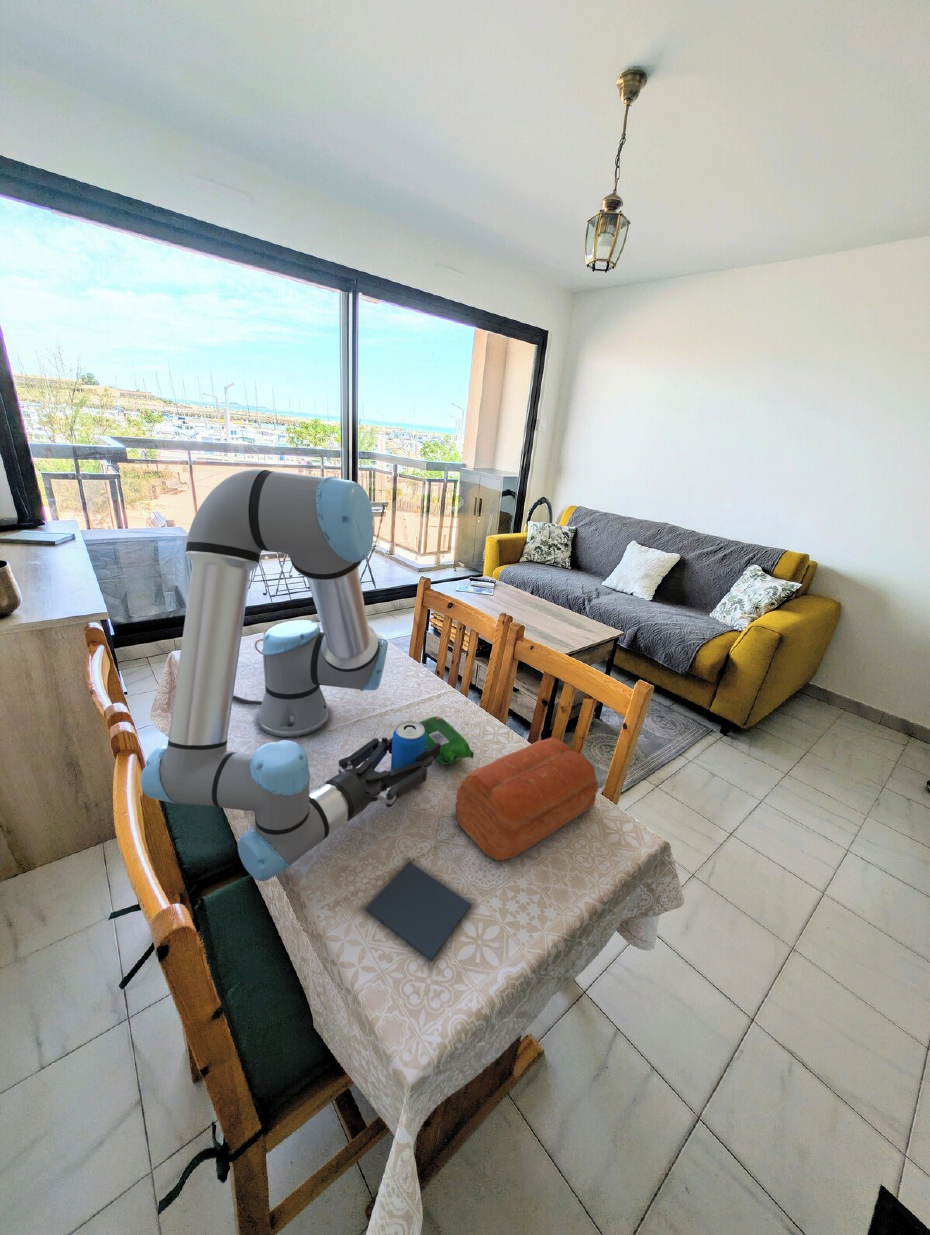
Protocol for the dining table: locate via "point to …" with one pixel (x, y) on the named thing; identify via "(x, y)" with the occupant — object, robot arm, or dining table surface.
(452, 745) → the snack package
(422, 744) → the beverage can
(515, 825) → the bread
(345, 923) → the dining table surface
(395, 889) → the slate mat
